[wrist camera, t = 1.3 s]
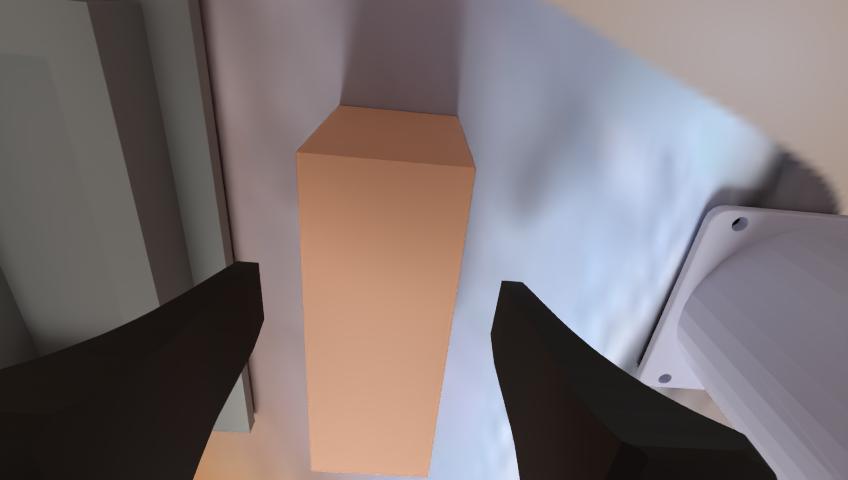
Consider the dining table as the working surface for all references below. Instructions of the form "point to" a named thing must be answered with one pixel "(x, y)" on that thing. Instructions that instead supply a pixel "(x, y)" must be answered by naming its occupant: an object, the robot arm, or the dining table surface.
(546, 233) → the dining table surface
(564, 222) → the dining table surface
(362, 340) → the terracotta bar
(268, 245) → the dining table surface
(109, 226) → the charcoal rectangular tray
